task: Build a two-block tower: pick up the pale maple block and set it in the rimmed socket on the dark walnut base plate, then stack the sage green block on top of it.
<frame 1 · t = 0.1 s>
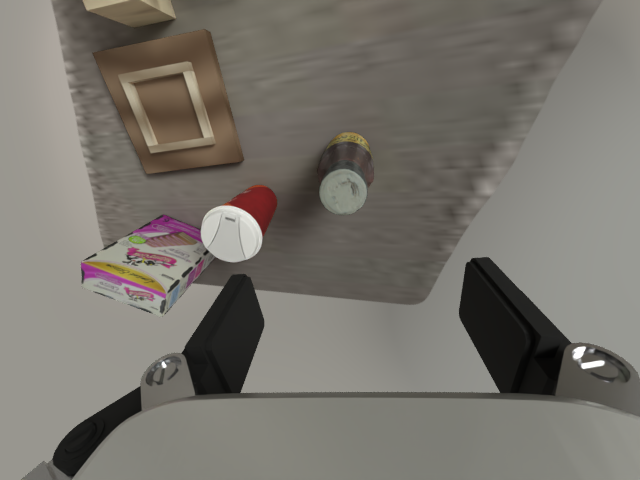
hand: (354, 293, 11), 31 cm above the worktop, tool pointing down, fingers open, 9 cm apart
sauce bottle: (346, 152, 38), on the worktop
paper cup: (261, 200, 43), on the worktop
candy bar box: (191, 234, 48), on the worktop
base plate: (177, 110, 37), on the worktop
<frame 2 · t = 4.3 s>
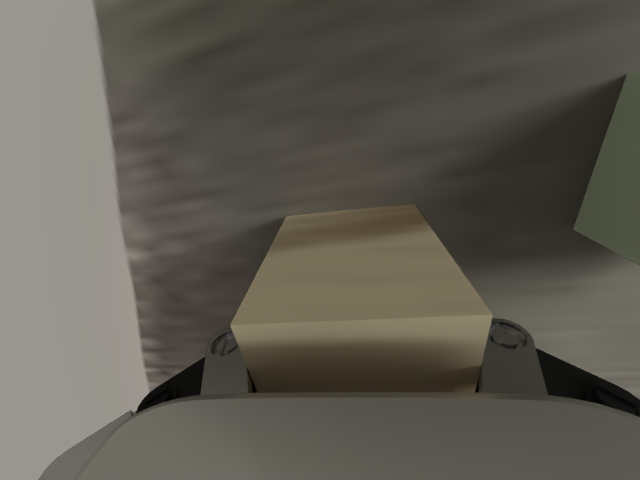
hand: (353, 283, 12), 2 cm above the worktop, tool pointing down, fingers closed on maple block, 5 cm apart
maple block: (352, 263, 13), on the worktop, touching gripper
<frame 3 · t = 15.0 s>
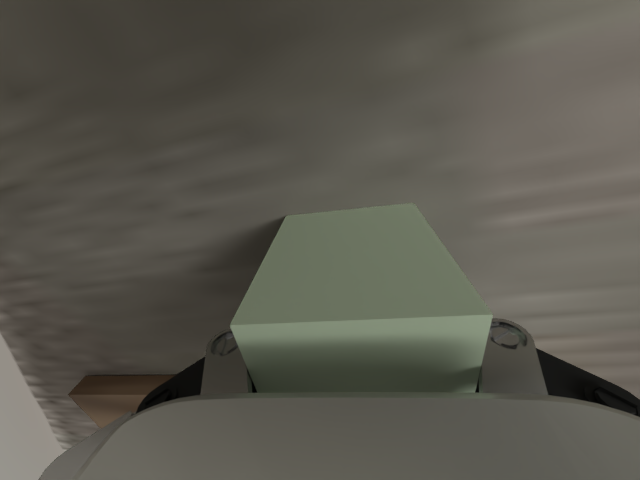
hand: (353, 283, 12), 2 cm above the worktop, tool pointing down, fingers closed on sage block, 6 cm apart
sage block: (352, 262, 13), on the worktop, touching gripper
base plate: (211, 431, 23), on the worktop
when the fingers open (11 cm above the worktop, at t = 20.3 s): sage block stays where it is, resting on maple block.
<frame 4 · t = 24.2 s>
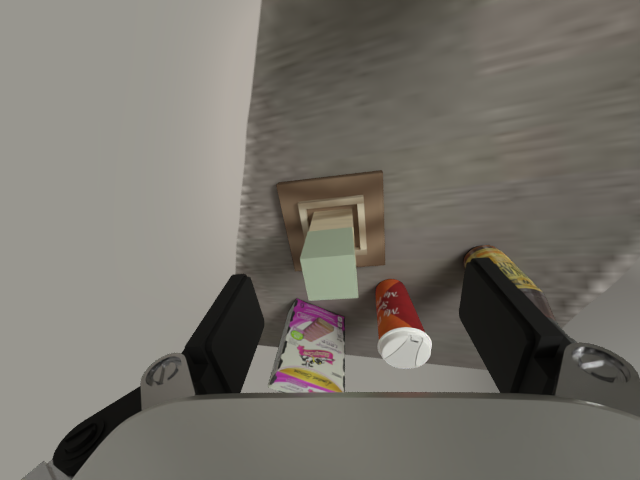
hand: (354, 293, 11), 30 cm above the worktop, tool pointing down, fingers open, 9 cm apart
sauce bottle: (478, 257, 44), on the worktop
paper cup: (389, 290, 49), on the worktop
candy bar box: (316, 313, 53), on the worktop
maple block: (334, 227, 42), point 1 cm above the worktop, touching base plate, sage block
sage block: (332, 248, 35), point 8 cm above the worktop, touching maple block
base plate: (334, 223, 43), on the worktop
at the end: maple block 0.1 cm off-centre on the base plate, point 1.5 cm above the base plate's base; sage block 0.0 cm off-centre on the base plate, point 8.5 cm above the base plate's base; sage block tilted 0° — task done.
